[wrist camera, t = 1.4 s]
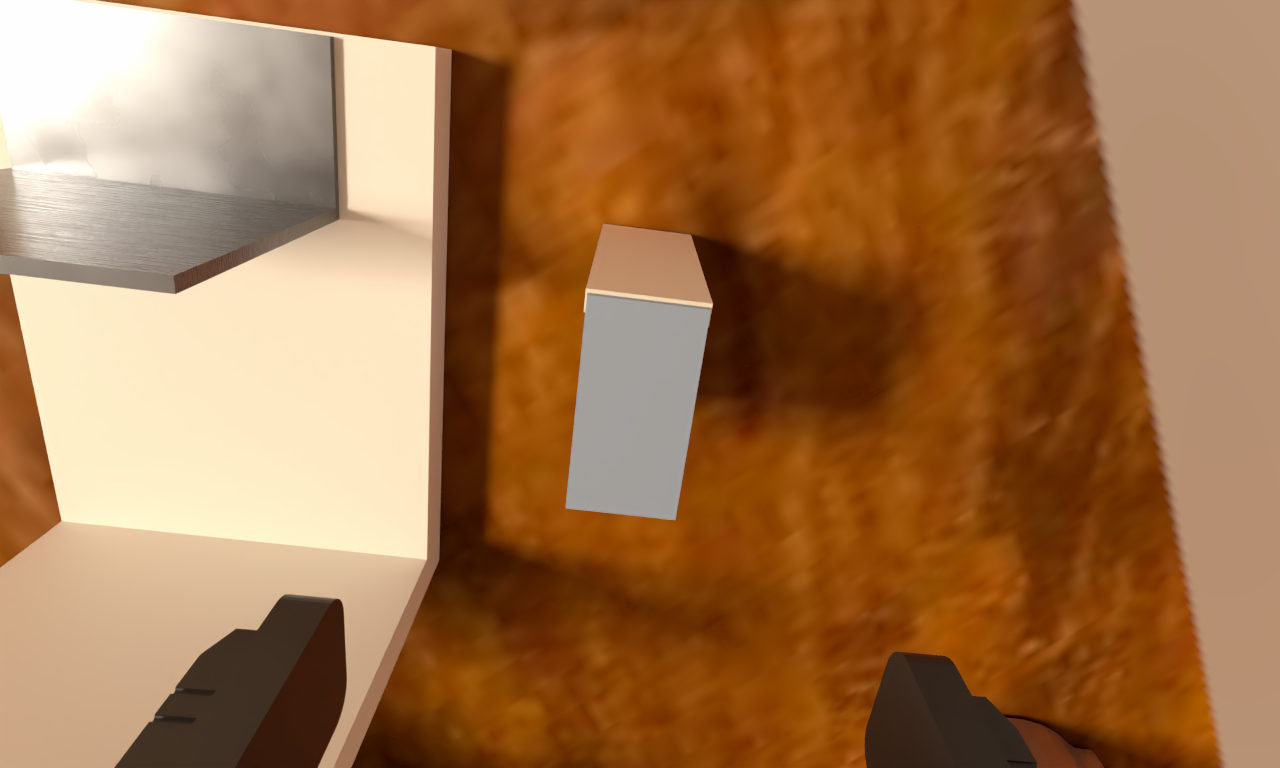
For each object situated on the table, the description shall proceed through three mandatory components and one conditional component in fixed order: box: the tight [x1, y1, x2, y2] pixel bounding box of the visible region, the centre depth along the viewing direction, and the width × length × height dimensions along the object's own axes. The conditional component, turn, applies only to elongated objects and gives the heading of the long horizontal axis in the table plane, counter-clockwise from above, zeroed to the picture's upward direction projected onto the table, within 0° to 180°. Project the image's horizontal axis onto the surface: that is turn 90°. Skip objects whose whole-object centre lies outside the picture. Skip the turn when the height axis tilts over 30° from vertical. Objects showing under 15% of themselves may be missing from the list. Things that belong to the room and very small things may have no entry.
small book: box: [566, 224, 713, 520], centre depth 23 cm, size 3×6×9 cm, turn 173°
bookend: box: [0, 0, 340, 294], centre depth 18 cm, size 10×5×9 cm, turn 83°
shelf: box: [0, 0, 452, 768], centre depth 20 cm, size 14×20×16 cm
